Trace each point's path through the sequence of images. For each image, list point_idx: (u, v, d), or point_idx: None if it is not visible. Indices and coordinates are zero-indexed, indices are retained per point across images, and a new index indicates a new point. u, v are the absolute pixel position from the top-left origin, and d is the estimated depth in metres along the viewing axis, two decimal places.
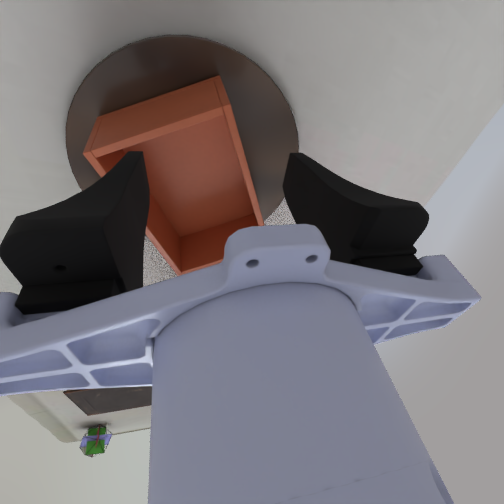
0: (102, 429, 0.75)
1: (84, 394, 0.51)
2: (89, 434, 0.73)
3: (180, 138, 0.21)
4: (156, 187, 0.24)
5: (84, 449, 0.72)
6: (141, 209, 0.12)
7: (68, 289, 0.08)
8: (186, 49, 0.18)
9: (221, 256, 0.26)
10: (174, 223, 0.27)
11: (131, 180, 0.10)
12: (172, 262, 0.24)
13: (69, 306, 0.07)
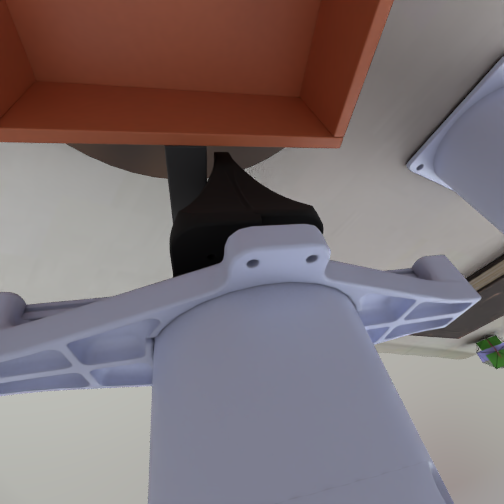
0: (493, 338, 0.63)
1: None
2: (482, 348, 0.63)
3: None
4: (175, 72, 0.13)
5: (490, 362, 0.63)
6: None
7: None
8: None
9: (369, 12, 0.09)
10: (265, 88, 0.14)
11: None
12: (297, 138, 0.11)
13: None
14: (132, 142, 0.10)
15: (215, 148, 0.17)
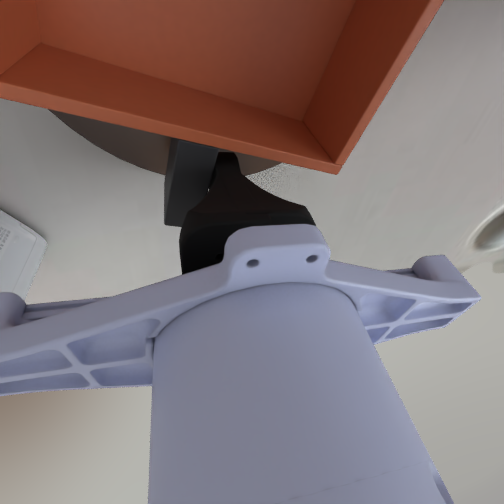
0: None
1: None
2: None
3: None
4: (192, 71, 0.13)
5: None
6: None
7: None
8: None
9: (386, 63, 0.10)
10: (273, 106, 0.15)
11: None
12: (303, 158, 0.12)
13: None
14: (146, 129, 0.10)
15: None
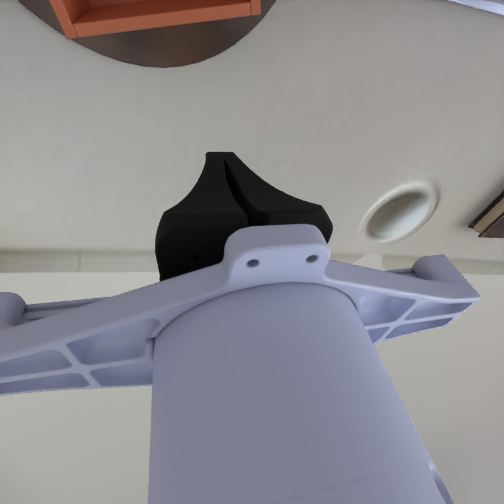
0: None
1: None
2: None
3: None
4: None
5: None
6: None
7: None
8: None
9: (161, 11, 0.13)
10: None
11: None
12: None
13: None
14: None
15: None
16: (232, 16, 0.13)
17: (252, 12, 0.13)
